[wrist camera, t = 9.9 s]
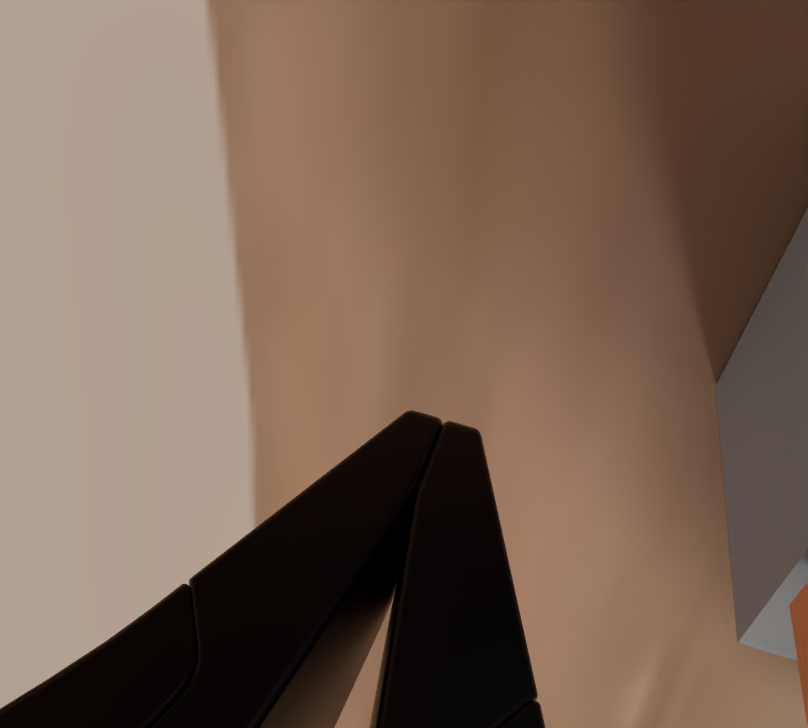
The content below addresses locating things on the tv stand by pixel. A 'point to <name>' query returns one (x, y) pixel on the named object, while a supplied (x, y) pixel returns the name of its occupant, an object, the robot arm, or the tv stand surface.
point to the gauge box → (769, 456)
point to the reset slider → (801, 638)
